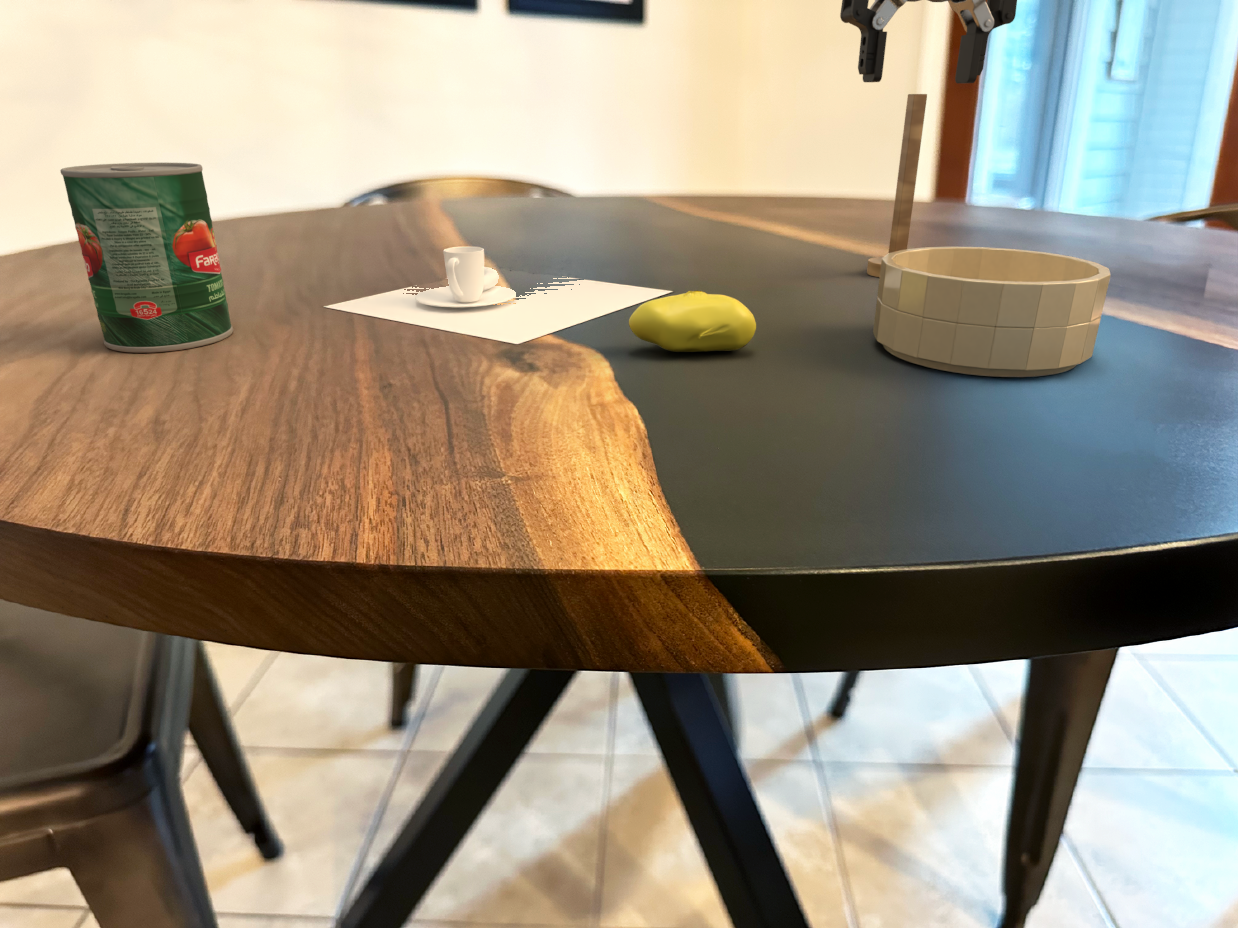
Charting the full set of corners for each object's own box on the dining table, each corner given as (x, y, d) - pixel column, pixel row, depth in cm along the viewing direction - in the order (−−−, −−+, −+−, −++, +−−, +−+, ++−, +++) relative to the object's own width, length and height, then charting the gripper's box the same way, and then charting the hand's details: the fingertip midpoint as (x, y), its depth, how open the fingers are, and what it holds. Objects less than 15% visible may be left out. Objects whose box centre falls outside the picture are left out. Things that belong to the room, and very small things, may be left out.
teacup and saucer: (471, 285, 73) (468, 237, 71) (543, 296, 68) (541, 245, 67) (394, 304, 66) (388, 252, 64) (468, 317, 62) (463, 261, 60)
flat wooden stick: (906, 268, 80) (929, 94, 74) (933, 278, 75) (960, 93, 69) (857, 270, 79) (876, 94, 73) (881, 280, 75) (904, 94, 69)
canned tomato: (250, 338, 57) (219, 166, 52) (120, 360, 52) (74, 173, 48) (212, 318, 62) (181, 160, 58) (92, 336, 57) (48, 166, 53)
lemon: (758, 361, 51) (762, 298, 50) (627, 360, 52) (627, 297, 50) (751, 343, 55) (755, 284, 54) (630, 342, 55) (630, 283, 54)
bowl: (1008, 322, 60) (1022, 244, 58) (1139, 374, 49) (1163, 279, 47) (841, 330, 58) (849, 249, 56) (935, 386, 47) (950, 287, 44)
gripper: (885, -168, 60) (859, 81, 66) (1064, -158, 62) (1022, 82, 68) (841, -141, 67) (821, 83, 73) (1004, -132, 69) (971, 84, 75)
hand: (919, 82), depth 71 cm, fingers open, 8 cm apart
